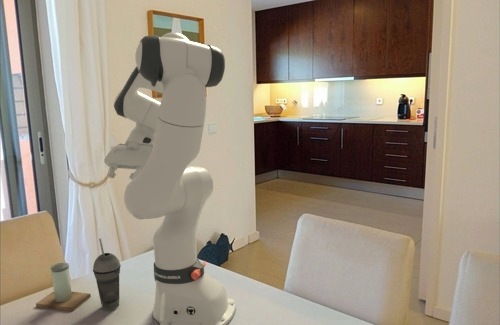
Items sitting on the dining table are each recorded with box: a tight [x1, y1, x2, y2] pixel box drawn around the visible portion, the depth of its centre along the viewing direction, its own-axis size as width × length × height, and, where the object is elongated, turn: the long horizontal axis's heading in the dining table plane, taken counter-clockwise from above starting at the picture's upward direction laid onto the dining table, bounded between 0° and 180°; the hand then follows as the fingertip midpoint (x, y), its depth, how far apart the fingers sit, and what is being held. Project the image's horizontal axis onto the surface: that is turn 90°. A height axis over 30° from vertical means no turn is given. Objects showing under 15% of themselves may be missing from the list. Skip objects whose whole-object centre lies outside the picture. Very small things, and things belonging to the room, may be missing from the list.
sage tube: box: [50, 262, 73, 303], centre depth 115 cm, size 5×5×10 cm
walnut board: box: [35, 290, 92, 312], centre depth 116 cm, size 12×8×1 cm, turn 76°
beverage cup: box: [92, 238, 121, 312], centre depth 111 cm, size 7×7×20 cm
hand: (121, 178), depth 132 cm, fingers open, 8 cm apart
